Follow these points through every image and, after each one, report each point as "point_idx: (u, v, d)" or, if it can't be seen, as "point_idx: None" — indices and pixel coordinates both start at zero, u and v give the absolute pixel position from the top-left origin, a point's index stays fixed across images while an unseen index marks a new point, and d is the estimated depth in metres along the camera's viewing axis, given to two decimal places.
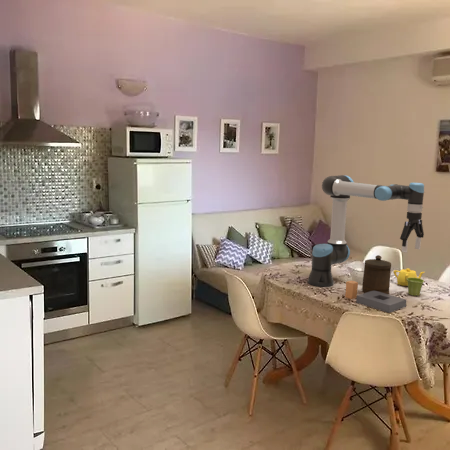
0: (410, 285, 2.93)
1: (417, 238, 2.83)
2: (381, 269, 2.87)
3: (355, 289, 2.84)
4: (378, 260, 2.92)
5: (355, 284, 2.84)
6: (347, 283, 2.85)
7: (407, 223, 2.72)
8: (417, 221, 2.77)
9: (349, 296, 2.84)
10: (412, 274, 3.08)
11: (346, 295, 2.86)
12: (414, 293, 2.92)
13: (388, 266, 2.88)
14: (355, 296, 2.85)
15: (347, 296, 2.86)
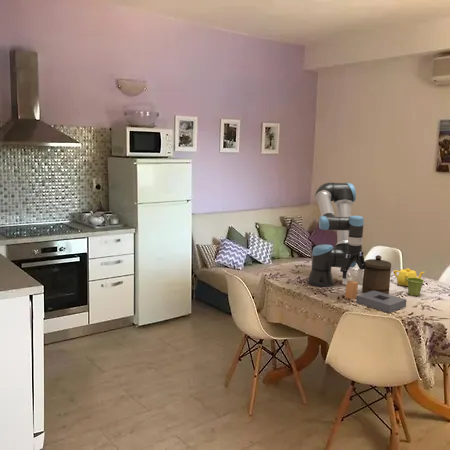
0: (410, 285, 2.93)
1: (359, 270, 2.88)
2: (381, 269, 2.87)
3: (355, 289, 2.84)
4: (378, 260, 2.92)
5: (355, 284, 2.84)
6: (347, 283, 2.85)
7: (347, 256, 2.77)
8: (358, 253, 2.82)
9: (349, 296, 2.84)
10: (412, 274, 3.08)
11: (346, 295, 2.86)
12: (414, 293, 2.92)
13: (388, 266, 2.88)
14: (355, 296, 2.85)
15: (347, 296, 2.86)
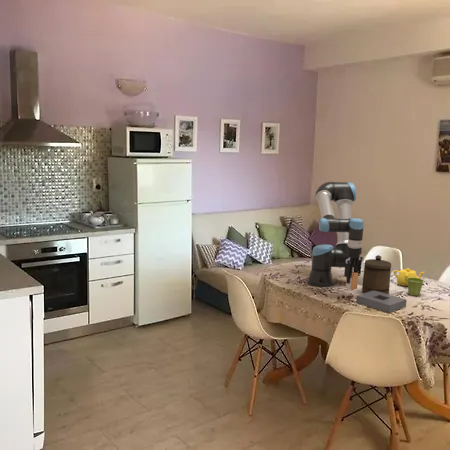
0: (410, 285, 2.93)
1: None
2: (381, 269, 2.87)
3: (355, 280, 2.84)
4: (378, 260, 2.92)
5: (356, 275, 2.83)
6: None
7: (347, 262, 2.79)
8: (358, 255, 2.83)
9: None
10: (412, 274, 3.08)
11: None
12: (414, 293, 2.92)
13: (388, 266, 2.88)
14: (355, 287, 2.85)
15: None
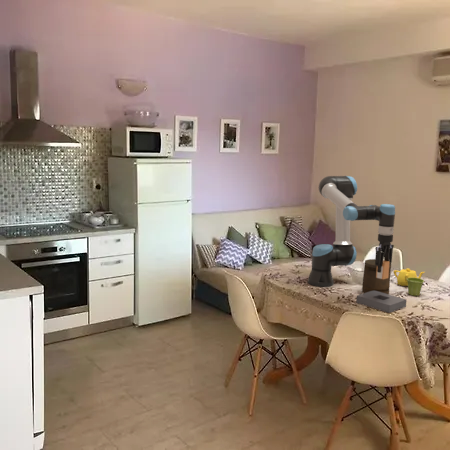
0: (410, 285, 2.93)
1: None
2: None
3: (387, 269, 2.71)
4: None
5: (387, 264, 2.70)
6: None
7: (378, 249, 2.66)
8: (389, 242, 2.71)
9: None
10: (412, 274, 3.08)
11: None
12: (414, 293, 2.92)
13: None
14: (386, 276, 2.72)
15: None
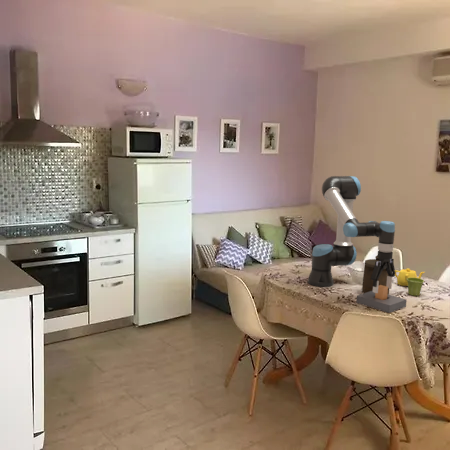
0: (410, 285, 2.93)
1: (388, 277, 2.78)
2: None
3: (385, 294, 2.73)
4: (378, 260, 2.92)
5: (385, 289, 2.73)
6: None
7: (377, 263, 2.67)
8: (388, 260, 2.72)
9: None
10: (412, 274, 3.08)
11: None
12: (414, 293, 2.92)
13: None
14: None
15: None
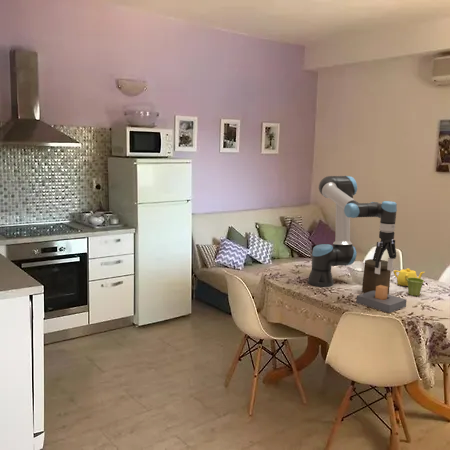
0: (410, 285, 2.93)
1: (389, 259, 2.75)
2: (381, 269, 2.87)
3: (385, 294, 2.73)
4: None
5: (385, 289, 2.73)
6: (377, 288, 2.74)
7: (379, 244, 2.65)
8: (390, 240, 2.70)
9: None
10: (412, 274, 3.08)
11: None
12: (414, 293, 2.92)
13: None
14: None
15: None
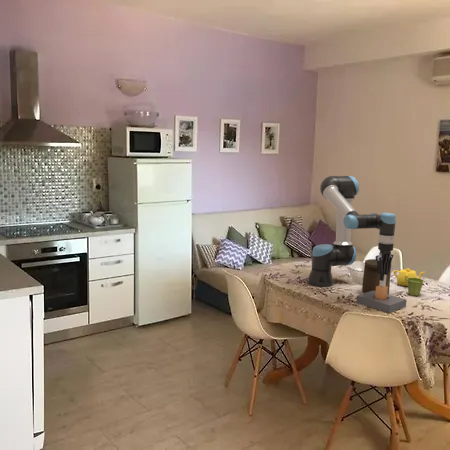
0: (410, 285, 2.93)
1: None
2: None
3: (385, 294, 2.73)
4: None
5: (385, 289, 2.73)
6: (377, 288, 2.74)
7: (379, 259, 2.67)
8: (389, 251, 2.72)
9: None
10: (412, 274, 3.08)
11: None
12: (414, 293, 2.92)
13: None
14: None
15: None
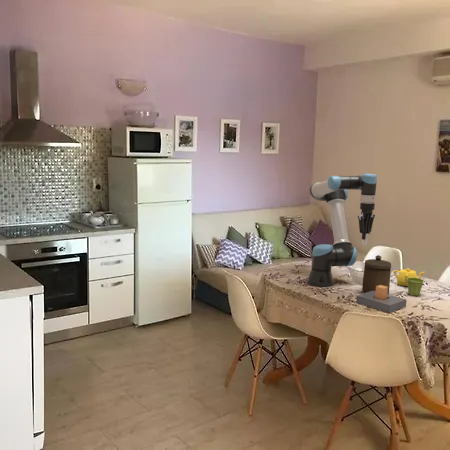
0: (410, 285, 2.93)
1: None
2: (381, 269, 2.87)
3: (385, 294, 2.73)
4: (378, 260, 2.92)
5: (385, 289, 2.73)
6: (377, 288, 2.74)
7: (360, 218, 2.77)
8: (371, 211, 2.81)
9: None
10: (412, 274, 3.08)
11: None
12: (414, 293, 2.92)
13: (388, 266, 2.88)
14: None
15: None
